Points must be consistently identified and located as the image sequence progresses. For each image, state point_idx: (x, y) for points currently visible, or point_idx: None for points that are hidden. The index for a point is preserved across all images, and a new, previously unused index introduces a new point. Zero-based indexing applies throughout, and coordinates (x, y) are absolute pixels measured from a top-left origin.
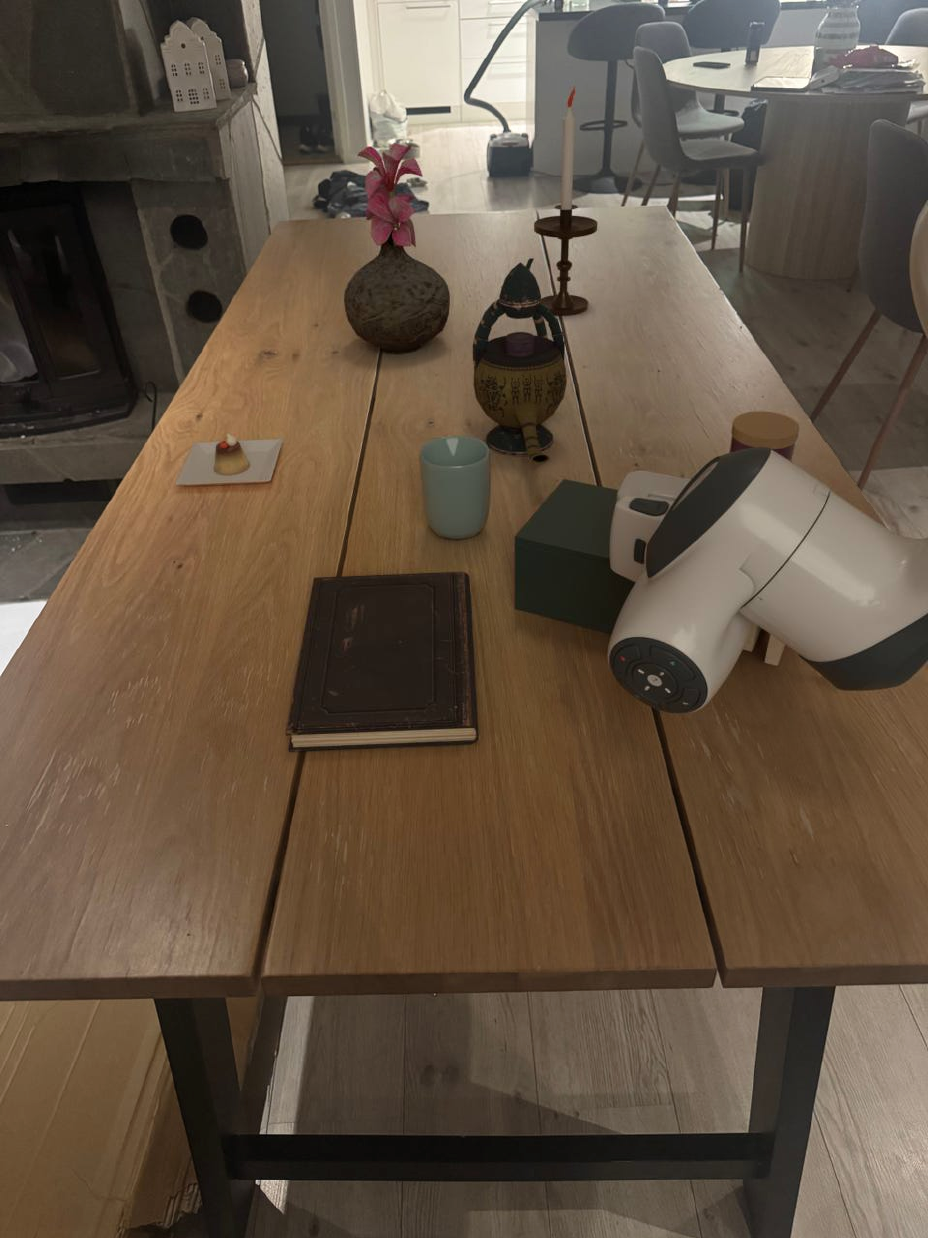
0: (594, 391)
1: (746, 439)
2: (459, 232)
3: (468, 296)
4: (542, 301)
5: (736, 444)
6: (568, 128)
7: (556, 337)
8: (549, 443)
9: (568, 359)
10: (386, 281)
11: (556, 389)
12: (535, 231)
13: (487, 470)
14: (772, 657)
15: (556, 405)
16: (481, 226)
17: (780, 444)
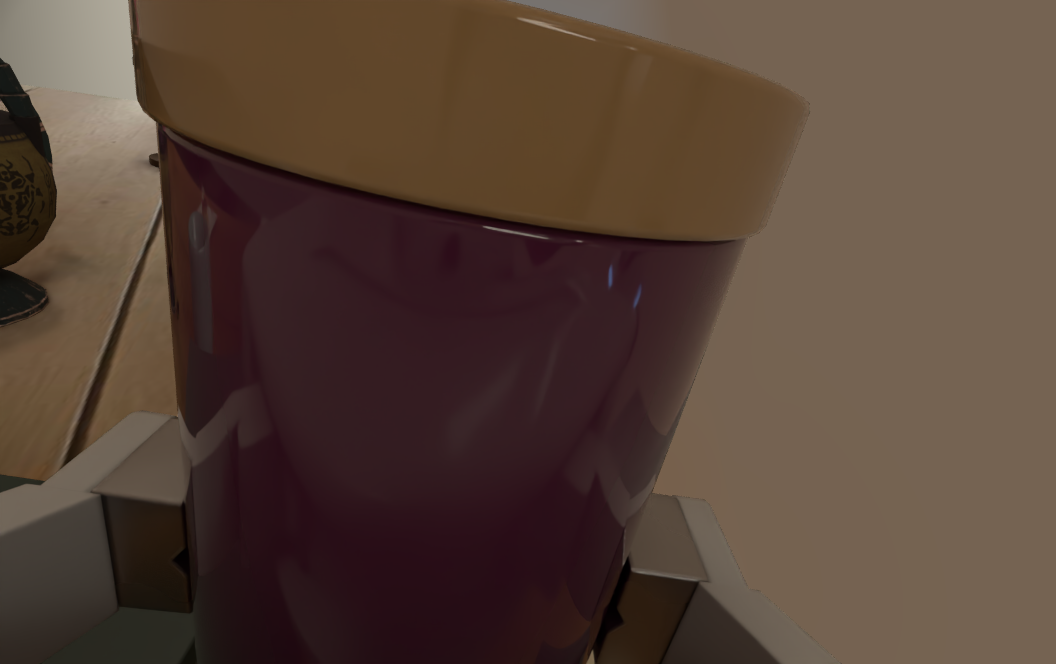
0: None
1: (263, 65)
2: (96, 104)
3: (56, 141)
4: (157, 156)
5: (175, 190)
6: None
7: (8, 100)
8: (24, 310)
9: (160, 207)
10: None
11: (2, 199)
12: (133, 64)
13: None
14: None
15: (16, 234)
16: (128, 106)
17: (743, 181)
